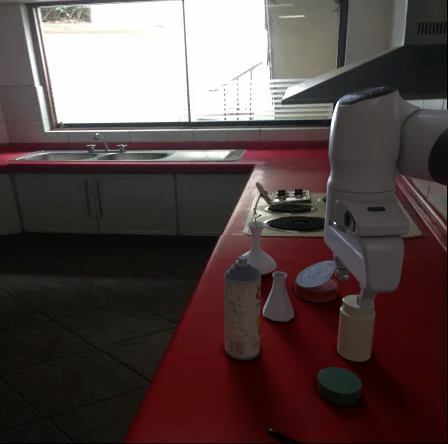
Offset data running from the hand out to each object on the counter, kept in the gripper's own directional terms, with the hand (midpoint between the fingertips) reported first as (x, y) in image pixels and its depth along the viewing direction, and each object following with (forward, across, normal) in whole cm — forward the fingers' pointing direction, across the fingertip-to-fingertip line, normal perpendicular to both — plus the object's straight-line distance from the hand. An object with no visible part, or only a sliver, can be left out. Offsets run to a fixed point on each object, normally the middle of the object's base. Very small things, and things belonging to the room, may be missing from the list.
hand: (352, 292), depth 64 cm
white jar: (+19, -12, +6) cm, 23 cm away
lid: (+17, -1, -1) cm, 17 cm away
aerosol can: (+19, -13, -16) cm, 28 cm away
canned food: (+19, -36, +5) cm, 41 cm away
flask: (+19, -26, -6) cm, 33 cm away
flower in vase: (+19, -51, -7) cm, 55 cm away
